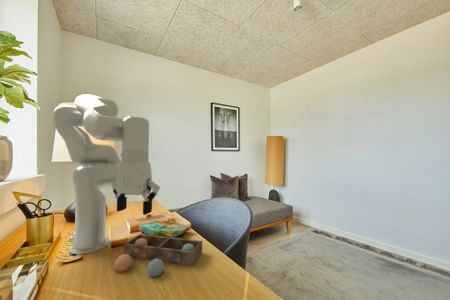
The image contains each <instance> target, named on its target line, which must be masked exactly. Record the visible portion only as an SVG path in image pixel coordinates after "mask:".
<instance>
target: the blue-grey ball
mask: <svg viewBox="0 0 450 300" xmlns="http://www.w3.org/2000/svg"><path fill="white" fill-rule="evenodd" d="M194 248H195V247H194V246H193V245H192V244H190V243H188V244H185V245H184V246H183V248H182V250H185V251H193V250H194Z"/></svg>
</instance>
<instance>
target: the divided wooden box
mask: <svg viewBox="0 0 450 300" xmlns="http://www.w3.org/2000/svg"><path fill="white" fill-rule="evenodd" d="M140 238H144V239H146V240H147V243H148V245H147V246H145V245H137V244H134V243H135V241H136V240H138V239H140ZM188 243H190V244H192V245H193V246H194V247H195V248H194V250H193V251H185V250H182V248H183V246H184V245H185V244H188ZM123 254H128V255H129V256H130V257H131V258H132V259H134V260H135V259H138V260H142V261H143V260H144V261H150V262H151V261H152V260H153V259H161V260H162V261H163V263H164V264H172V265H178V266H186V267H192V268H194V267H195V265H196V263H197V262H198V261H199V259H200V257H201V256H202V255H203V240H200V239H199V240H197V239H189V238H180V237H175V238H171V237H162V236H153V235H147V234H145V233H143V234H142V233H139V234H137V235H136V236H135V237H133V238H131V239H130V240H128V241H127V242H125V243H123Z"/></svg>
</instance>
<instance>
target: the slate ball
mask: <svg viewBox="0 0 450 300" xmlns="http://www.w3.org/2000/svg"><path fill="white" fill-rule="evenodd" d="M164 265H165V263H163V261H162V260H161V259H153V260H152V261H150V262H149V263H148V264H147V268H146V272H147V274H148V276H149V277H151V278H156V277H158V276H160V275H161V274H162V273H163V271H164V267H165V266H164Z"/></svg>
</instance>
